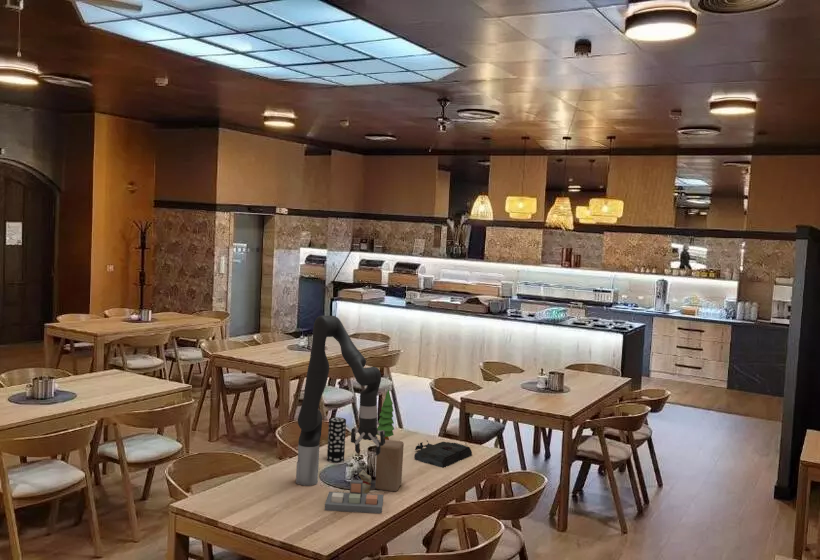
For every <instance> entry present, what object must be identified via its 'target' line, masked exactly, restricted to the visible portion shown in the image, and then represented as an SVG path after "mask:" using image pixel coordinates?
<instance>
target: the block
mask: <svg viewBox="0 0 820 560" xmlns="http://www.w3.org/2000/svg"><path fill="white" fill-rule="evenodd" d="M404 445H405V443H404V442H403V441H401V440H391V439H389V440H385V444H384V445H383V446H381V449H380V454H379V455H376V468H375V469H376V470H375V485H374V487H375V489H376V490H381V491H391V492H397V491H398V490H399V488H400V487H401V485H402V481H403V480H402V477H403V463H404V462H403V461H404Z"/></svg>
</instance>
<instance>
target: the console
mask: <svg viewBox="0 0 820 560" xmlns="http://www.w3.org/2000/svg"><path fill="white" fill-rule="evenodd" d="M362 486H363V480H361V479H350V482H349V492H344V491H343V492H342V491H328V493H327V497H326V500H325V502H324V511H330V512H331V511H332V512H345V513H346V512H349V513H365V514H380V513H382V514H383V506H384V494H381V493H380V494H379V493H377V494H376V493H367V494H368V495H378V496H377V505H371V504H366V496H367V494H363V493H362ZM333 492H334V493H344V495H343V503H336V502H331V500H332V494H333ZM350 493H351V494H361V495H360V504H353V503H349V495H350Z"/></svg>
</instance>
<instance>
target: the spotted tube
mask: <svg viewBox="0 0 820 560" xmlns="http://www.w3.org/2000/svg"><path fill="white" fill-rule="evenodd" d="M327 429H328V430H327V431H328V432H327V449H326V450H327V451H326V452H327V453H326V456H327V457H326V461H327V462H329V463H334V464H339V463H344V461H345V451H346V449H345V448H346V431H347V430H346V429H347V419H346V418H343V417H331V418H328V428H327Z"/></svg>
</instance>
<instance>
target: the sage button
mask: <svg viewBox="0 0 820 560" xmlns="http://www.w3.org/2000/svg"><path fill="white" fill-rule="evenodd" d="M349 493H350V492H349ZM360 495H361V494H351V493H350V495H349V503H353V504H360Z"/></svg>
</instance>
